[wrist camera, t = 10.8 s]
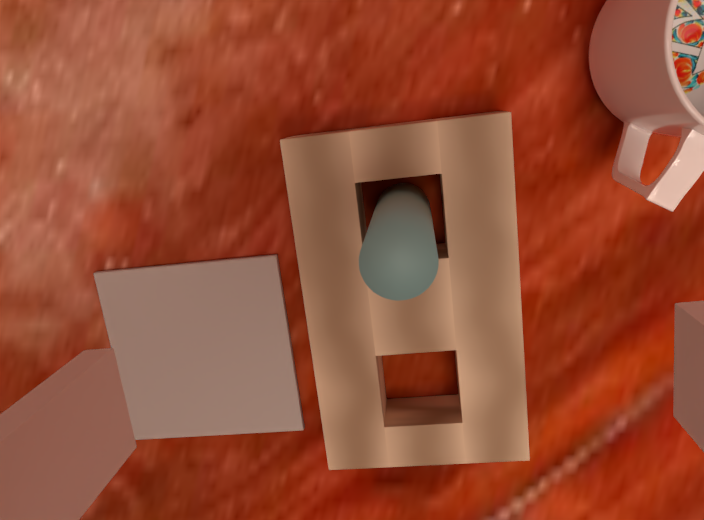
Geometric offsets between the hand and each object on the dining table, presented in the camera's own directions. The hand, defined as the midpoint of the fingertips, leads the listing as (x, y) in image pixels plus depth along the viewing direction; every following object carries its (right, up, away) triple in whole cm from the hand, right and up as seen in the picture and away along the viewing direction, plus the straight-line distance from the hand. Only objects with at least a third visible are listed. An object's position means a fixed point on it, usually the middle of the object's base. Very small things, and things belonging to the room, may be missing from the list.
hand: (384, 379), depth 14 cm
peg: (+2, +6, +21) cm, 22 cm away
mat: (-11, -3, +25) cm, 27 cm away
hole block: (+3, +1, +23) cm, 23 cm away
